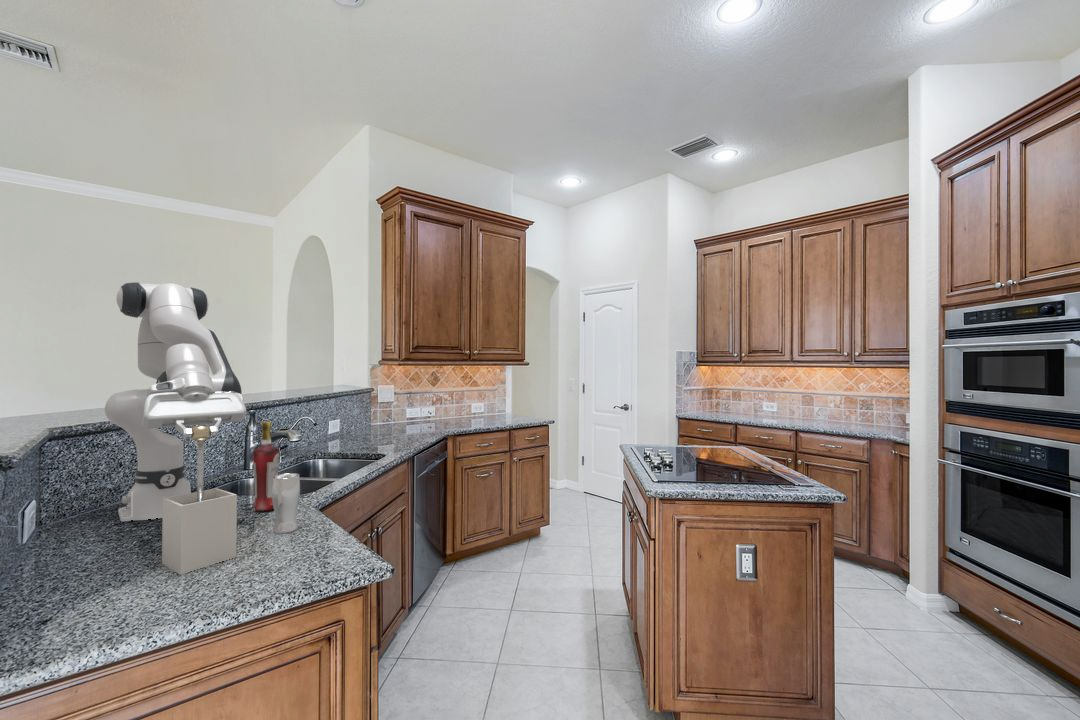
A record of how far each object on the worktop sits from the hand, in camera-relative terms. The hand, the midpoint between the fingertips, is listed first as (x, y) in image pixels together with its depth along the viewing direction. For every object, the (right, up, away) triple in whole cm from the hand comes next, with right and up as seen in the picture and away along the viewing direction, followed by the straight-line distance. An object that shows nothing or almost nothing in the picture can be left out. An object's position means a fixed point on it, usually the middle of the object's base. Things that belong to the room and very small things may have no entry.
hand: (201, 435), depth 108 cm
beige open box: (0, -29, 0) cm, 29 cm away
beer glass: (+9, -30, +20) cm, 37 cm away
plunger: (0, -17, 0) cm, 17 cm away
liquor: (-8, -30, +39) cm, 50 cm away
